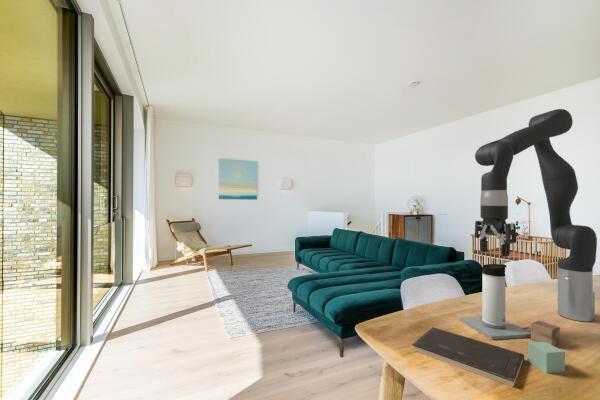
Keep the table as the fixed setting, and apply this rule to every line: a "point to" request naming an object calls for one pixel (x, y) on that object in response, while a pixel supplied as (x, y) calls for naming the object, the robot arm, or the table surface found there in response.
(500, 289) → the travel mug
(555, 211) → the robot arm
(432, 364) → the table surface
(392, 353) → the table surface
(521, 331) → the slate board
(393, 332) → the table surface
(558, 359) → the sage block
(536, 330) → the walnut block
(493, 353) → the hardcover book
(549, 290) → the table surface
